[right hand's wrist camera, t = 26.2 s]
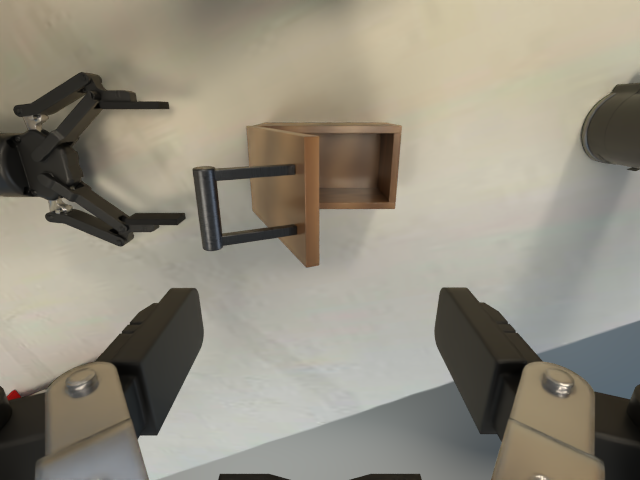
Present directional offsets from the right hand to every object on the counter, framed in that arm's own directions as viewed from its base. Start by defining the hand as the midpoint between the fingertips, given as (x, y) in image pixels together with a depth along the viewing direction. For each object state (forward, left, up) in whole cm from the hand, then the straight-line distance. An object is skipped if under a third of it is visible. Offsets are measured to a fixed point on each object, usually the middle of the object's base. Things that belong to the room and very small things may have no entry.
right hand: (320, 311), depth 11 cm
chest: (0, +1, -38) cm, 38 cm away
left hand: (+5, -17, -32) cm, 37 cm away
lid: (+1, -3, -21) cm, 22 cm away
